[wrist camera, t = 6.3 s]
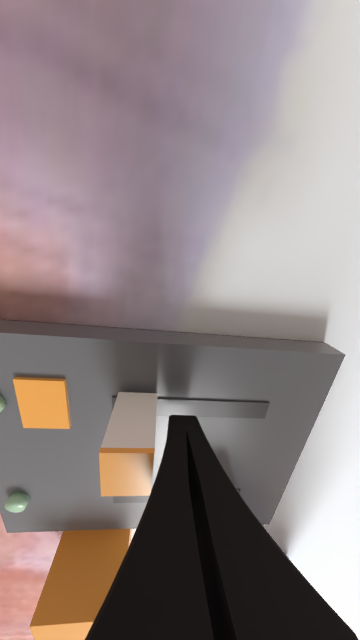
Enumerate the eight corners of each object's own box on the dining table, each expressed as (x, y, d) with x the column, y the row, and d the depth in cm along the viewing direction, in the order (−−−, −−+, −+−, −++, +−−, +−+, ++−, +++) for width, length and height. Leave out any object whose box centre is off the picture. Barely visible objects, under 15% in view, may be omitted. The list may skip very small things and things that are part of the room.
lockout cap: (131, 517, 17) (119, 619, 12) (130, 550, 19) (119, 649, 14) (67, 519, 17) (29, 626, 12) (72, 552, 18) (41, 657, 14)
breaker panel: (324, 342, 12) (353, 359, 10) (260, 501, 18) (272, 532, 16) (-31, 317, 10) (-76, 333, 8) (21, 507, 16) (1, 542, 14)
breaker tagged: (157, 393, 10) (154, 453, 7) (154, 428, 11) (150, 495, 8) (118, 391, 10) (99, 452, 7) (118, 428, 11) (100, 496, 8)
